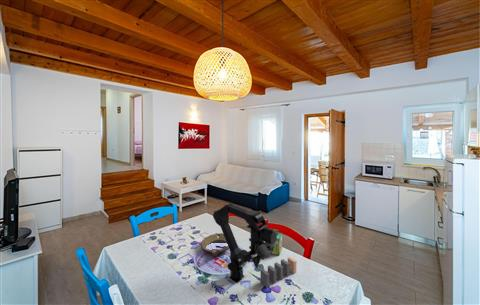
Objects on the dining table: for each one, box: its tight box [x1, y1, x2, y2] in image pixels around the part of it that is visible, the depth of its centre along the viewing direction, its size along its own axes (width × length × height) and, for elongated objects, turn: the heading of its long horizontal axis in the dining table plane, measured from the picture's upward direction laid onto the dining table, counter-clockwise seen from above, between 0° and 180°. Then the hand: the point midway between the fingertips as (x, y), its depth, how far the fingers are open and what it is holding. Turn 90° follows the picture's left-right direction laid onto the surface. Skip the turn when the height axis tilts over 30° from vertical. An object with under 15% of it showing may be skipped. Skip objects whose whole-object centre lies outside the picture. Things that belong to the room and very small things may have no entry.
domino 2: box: [267, 265, 278, 285], centre depth 111 cm, size 2×5×7 cm, turn 34°
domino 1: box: [260, 268, 270, 289], centre depth 108 cm, size 2×5×7 cm, turn 33°
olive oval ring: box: [200, 232, 230, 257], centre depth 142 cm, size 22×30×8 cm
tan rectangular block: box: [287, 256, 297, 274], centre depth 119 cm, size 2×5×7 cm, turn 34°
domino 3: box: [273, 261, 284, 281], centre depth 114 cm, size 2×5×7 cm, turn 33°
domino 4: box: [280, 258, 291, 278], centre depth 117 cm, size 2×5×7 cm, turn 34°
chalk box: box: [271, 228, 283, 257], centre depth 140 cm, size 9×9×15 cm
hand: (256, 267), depth 105 cm, fingers closed
